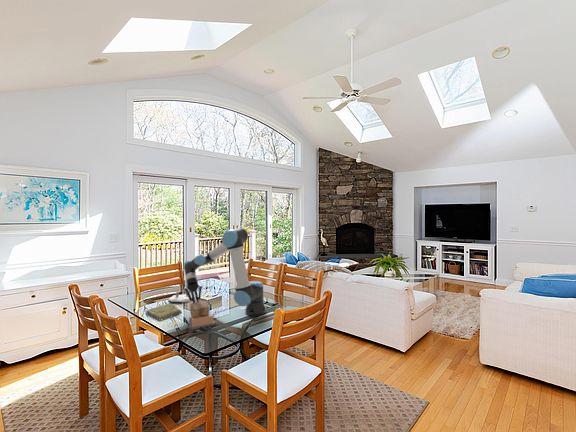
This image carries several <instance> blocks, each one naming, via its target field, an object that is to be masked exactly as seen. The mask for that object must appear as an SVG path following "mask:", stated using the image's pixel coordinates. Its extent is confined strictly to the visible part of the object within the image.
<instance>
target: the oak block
mask: <svg viewBox="0 0 576 432" xmlns="http://www.w3.org/2000/svg"><path fill="white" fill-rule="evenodd" d="M189 307H190V310H189V312H190V313H189V315H191V316H192V317H190V318H189V320H192V319H193V318H199V317H204V316H209V315H210V306H209V305H208V304H207V302H206V301H205V300H203V301H199V302H197V303H193V302H191V303H190V305H189ZM191 323H192V321H191Z"/></svg>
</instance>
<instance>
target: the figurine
mask: <svg viewBox="0 0 576 432" xmlns="http://www.w3.org/2000/svg"><path fill="white" fill-rule="evenodd" d="M186 282H187V280H183V283H180V284H179V286H183V287H182V288H181V290H182V293H181V294H180V293H179V292H178V291H177V292H175V294H174V295H172V296H171V297H169V298H168V300H169V301H170V302H172V303H173V302H176V303H188V302H189V303H190V302H191V301H190V300H189V298H188V296H187V293H186V292H185V294H184V290H185V287H187V284H186ZM190 296H191V294H190ZM191 298H192V296H191Z"/></svg>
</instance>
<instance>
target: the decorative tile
mask: <svg viewBox="0 0 576 432" xmlns="http://www.w3.org/2000/svg"><path fill="white" fill-rule="evenodd" d="M147 313H148V314H147ZM179 313H180V314H182V310H181V308H178V307H177V306H176V305H175V304H172V303H166V304H162V305H159V306H158V305H157V306H156V307H151V308H150V309H147V310H146V314H147V315H149V314H150V315H149V316H151V315H152V316H151V317H153V316H154V317H153V318H155V317H156V318H155V319H157V318H158V319H157V320H159V319H160V320H159V321H162V320H161V319H163V320H165V318H166V319H168V317H169V318H171V316H172V317H174V315H175V316H177V315H180V314H179Z"/></svg>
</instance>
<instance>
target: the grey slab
mask: <svg viewBox="0 0 576 432" xmlns="http://www.w3.org/2000/svg"><path fill="white" fill-rule="evenodd" d="M190 317H192V316H191V314H187V315H184V320H185V319H186V320H187V322H188V323H187V322H186V323H187V325H188V324H189V325H188V327H189V329H190V330H196V329H198V330H199V329H201V328H200V327H202V328H206V327H205V326H207V327H211V326H210V325H212V326H215V325H216V322H215V321H214V315H213V314H209V316H204V317H199V318H193V319H192V320H189V318H190ZM186 320H185V321H186ZM191 321H192V323H191ZM214 324H215V325H214Z"/></svg>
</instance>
